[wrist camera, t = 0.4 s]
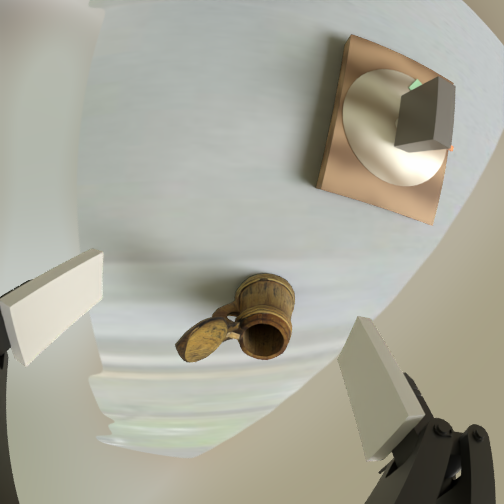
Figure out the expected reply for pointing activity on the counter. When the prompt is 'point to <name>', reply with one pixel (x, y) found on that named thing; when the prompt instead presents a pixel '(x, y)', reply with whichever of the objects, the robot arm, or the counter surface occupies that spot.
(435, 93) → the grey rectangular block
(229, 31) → the counter surface
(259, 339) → the wooden mug
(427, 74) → the board
